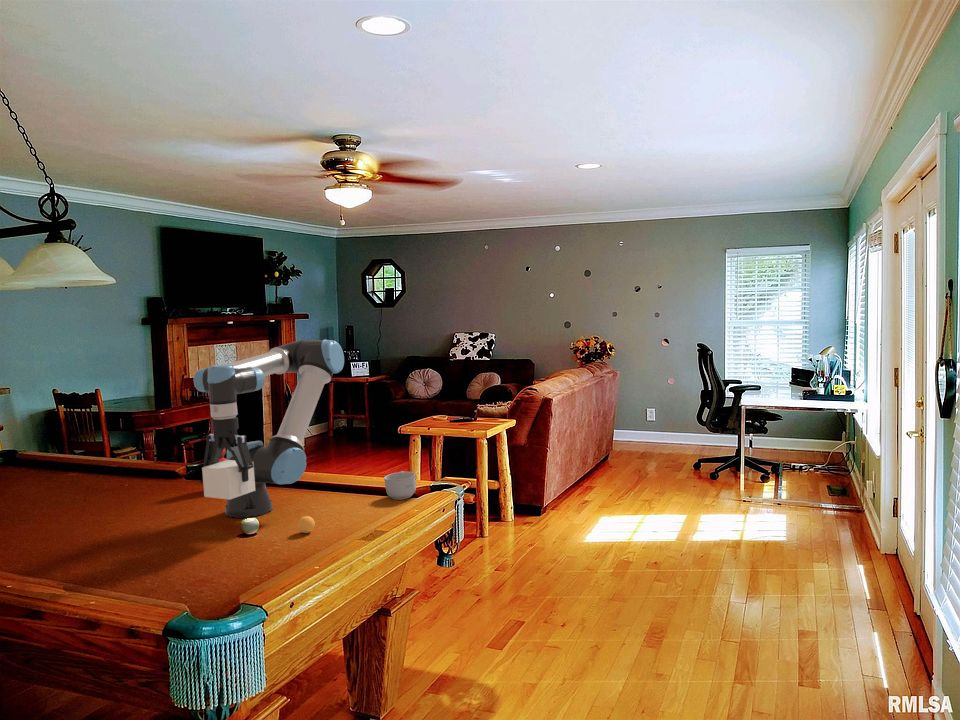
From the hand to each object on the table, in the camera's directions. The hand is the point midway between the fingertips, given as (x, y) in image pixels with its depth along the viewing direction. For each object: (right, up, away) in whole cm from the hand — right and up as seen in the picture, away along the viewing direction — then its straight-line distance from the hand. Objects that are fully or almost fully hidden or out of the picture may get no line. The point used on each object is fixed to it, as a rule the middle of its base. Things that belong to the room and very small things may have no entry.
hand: (230, 490), depth 219 cm
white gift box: (0, -1, 0) cm, 1 cm away
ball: (+23, -10, +1) cm, 25 cm away
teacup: (+47, -9, +38) cm, 61 cm away
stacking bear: (-24, -10, +58) cm, 64 cm away
